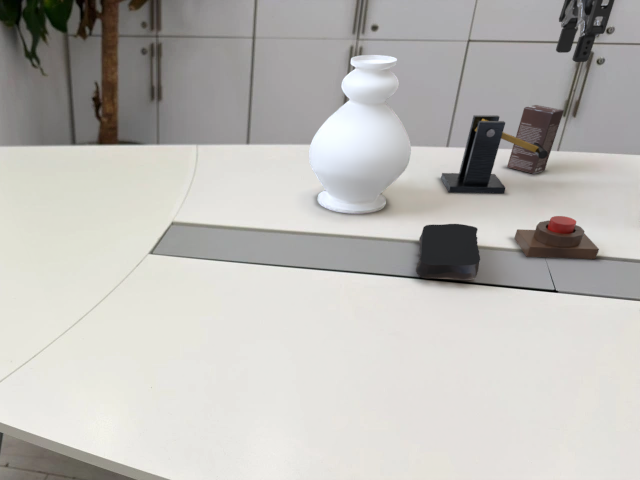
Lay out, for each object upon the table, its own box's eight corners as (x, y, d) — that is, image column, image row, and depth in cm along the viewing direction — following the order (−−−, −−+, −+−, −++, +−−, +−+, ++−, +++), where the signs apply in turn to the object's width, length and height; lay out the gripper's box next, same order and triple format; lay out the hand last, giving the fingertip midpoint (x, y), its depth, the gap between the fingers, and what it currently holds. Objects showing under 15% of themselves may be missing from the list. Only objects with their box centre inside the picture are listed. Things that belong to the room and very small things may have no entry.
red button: (568, 226, 108) (571, 216, 107) (576, 235, 105) (580, 224, 104) (543, 225, 109) (547, 215, 108) (551, 234, 106) (554, 224, 105)
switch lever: (534, 154, 130) (542, 142, 129) (542, 162, 126) (551, 150, 125) (472, 128, 129) (480, 116, 128) (479, 135, 125) (487, 123, 124)
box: (545, 170, 139) (565, 109, 132) (532, 175, 137) (552, 113, 130) (518, 163, 143) (536, 103, 136) (505, 167, 141) (522, 107, 134)
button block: (579, 240, 111) (586, 220, 109) (595, 259, 105) (603, 238, 103) (513, 238, 113) (520, 218, 111) (526, 256, 107) (533, 236, 105)
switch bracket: (493, 179, 135) (511, 113, 128) (504, 193, 129) (524, 124, 122) (440, 178, 137) (456, 113, 130) (448, 192, 131) (465, 124, 123)
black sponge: (475, 289, 99) (482, 266, 97) (414, 281, 102) (419, 259, 99) (472, 245, 111) (478, 224, 109) (417, 239, 114) (422, 218, 112)
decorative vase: (287, 192, 134) (301, 55, 119) (366, 180, 138) (389, 46, 123) (333, 225, 120) (355, 74, 105) (420, 211, 124) (453, 63, 109)
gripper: (652, -54, 100) (610, 65, 109) (614, -60, 111) (580, 48, 120) (596, -52, 101) (560, 65, 110) (564, -58, 112) (534, 49, 122)
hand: (570, 56), depth 115 cm, fingers open, 8 cm apart
